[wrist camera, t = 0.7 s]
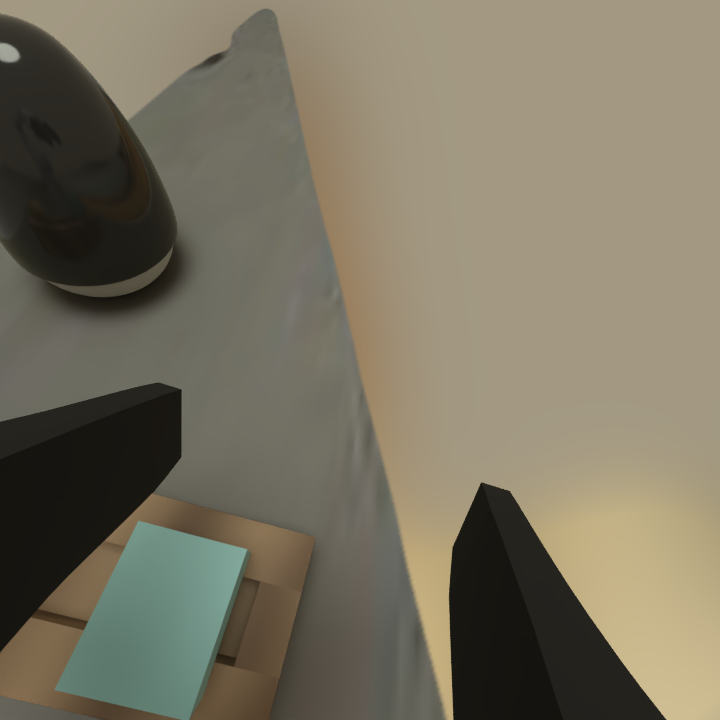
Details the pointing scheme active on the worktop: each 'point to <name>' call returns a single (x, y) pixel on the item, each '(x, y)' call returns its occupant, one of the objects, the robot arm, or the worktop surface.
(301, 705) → the worktop surface
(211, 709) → the slotted wooden block
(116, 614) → the block
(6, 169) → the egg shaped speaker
